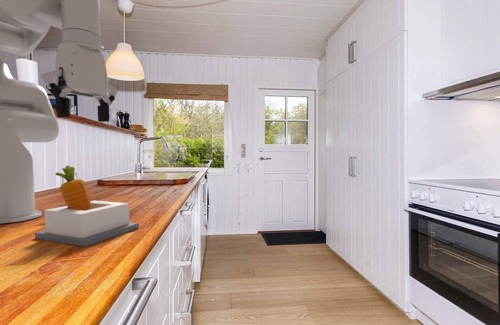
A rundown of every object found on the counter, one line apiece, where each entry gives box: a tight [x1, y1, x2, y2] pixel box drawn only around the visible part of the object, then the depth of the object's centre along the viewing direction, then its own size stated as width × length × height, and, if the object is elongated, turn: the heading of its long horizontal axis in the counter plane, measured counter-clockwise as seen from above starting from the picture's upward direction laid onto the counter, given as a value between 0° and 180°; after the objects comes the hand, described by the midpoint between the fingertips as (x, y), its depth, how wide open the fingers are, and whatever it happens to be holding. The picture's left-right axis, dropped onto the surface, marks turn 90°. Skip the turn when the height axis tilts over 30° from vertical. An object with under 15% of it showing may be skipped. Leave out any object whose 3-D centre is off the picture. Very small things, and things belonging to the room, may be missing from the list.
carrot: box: [55, 165, 91, 211], centre depth 62 cm, size 5×5×15 cm
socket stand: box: [34, 200, 140, 248], centre depth 63 cm, size 16×14×6 cm
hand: (85, 119), depth 63 cm, fingers open, 9 cm apart
